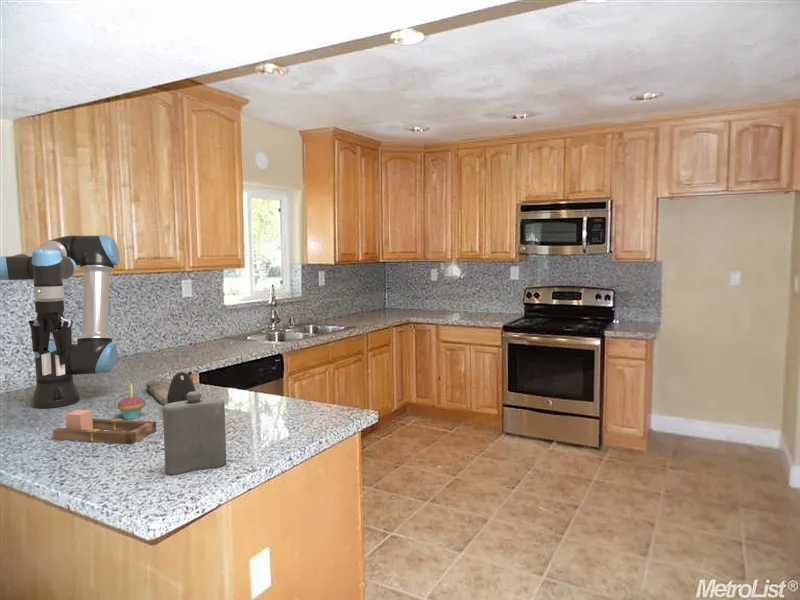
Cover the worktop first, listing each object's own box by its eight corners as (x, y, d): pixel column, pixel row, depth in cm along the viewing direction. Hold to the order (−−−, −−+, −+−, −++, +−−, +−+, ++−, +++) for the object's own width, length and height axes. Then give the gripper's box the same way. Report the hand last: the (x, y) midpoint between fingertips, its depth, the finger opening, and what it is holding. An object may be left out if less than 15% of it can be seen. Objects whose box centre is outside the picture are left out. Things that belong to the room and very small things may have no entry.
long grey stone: (160, 412, 193) (188, 409, 199) (160, 398, 192) (189, 395, 198) (141, 388, 221) (167, 386, 227) (141, 376, 221) (167, 374, 226)
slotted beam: (83, 427, 172) (82, 417, 172) (156, 430, 168) (155, 420, 168) (53, 439, 160) (52, 429, 160) (131, 444, 156) (131, 433, 156)
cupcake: (120, 415, 185) (118, 381, 184) (146, 412, 188) (145, 379, 187) (116, 422, 177) (114, 387, 176) (144, 419, 180) (142, 384, 179)
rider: (78, 431, 168) (77, 409, 168) (93, 431, 168) (91, 410, 167) (66, 436, 164) (65, 414, 163) (81, 437, 163) (80, 414, 162)
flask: (224, 458, 145) (222, 387, 143) (227, 466, 140) (225, 392, 138) (165, 468, 139) (162, 393, 137) (165, 476, 134) (162, 399, 132)
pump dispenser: (204, 411, 189) (203, 369, 187) (185, 420, 179) (184, 376, 177) (180, 409, 191) (179, 368, 190) (160, 418, 181) (158, 374, 180)
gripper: (14, 300, 161) (19, 376, 163) (64, 301, 158) (69, 378, 160) (34, 298, 168) (39, 371, 170) (83, 299, 166) (87, 372, 168)
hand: (53, 374), depth 165 cm, fingers open, 4 cm apart
